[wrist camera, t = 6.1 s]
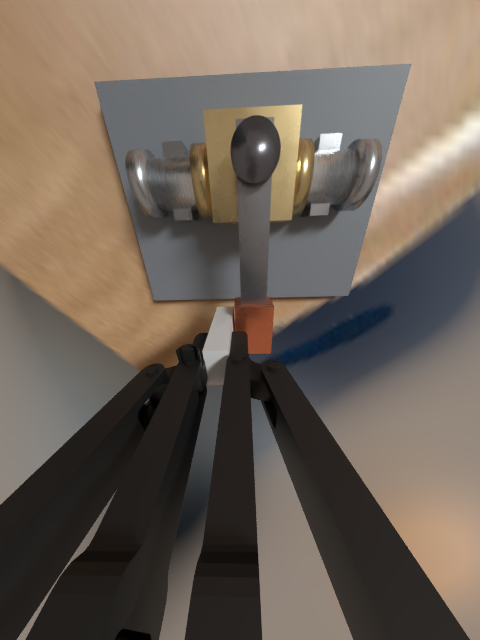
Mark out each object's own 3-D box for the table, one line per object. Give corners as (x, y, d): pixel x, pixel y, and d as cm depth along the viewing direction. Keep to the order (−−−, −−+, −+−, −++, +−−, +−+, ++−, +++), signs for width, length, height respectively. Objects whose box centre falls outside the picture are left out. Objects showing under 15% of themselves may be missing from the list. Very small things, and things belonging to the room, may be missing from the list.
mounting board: (159, 296, 23) (154, 300, 21) (107, 95, 15) (94, 81, 13) (341, 291, 22) (348, 295, 21) (395, 79, 14) (411, 63, 13)
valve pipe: (163, 227, 18) (133, 225, 13) (148, 152, 16) (103, 114, 11) (337, 221, 18) (374, 216, 13) (352, 143, 15) (408, 98, 10)
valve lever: (228, 139, 11) (224, 110, 8) (276, 137, 11) (287, 107, 8) (237, 336, 17) (236, 354, 15) (266, 336, 17) (271, 354, 15)
